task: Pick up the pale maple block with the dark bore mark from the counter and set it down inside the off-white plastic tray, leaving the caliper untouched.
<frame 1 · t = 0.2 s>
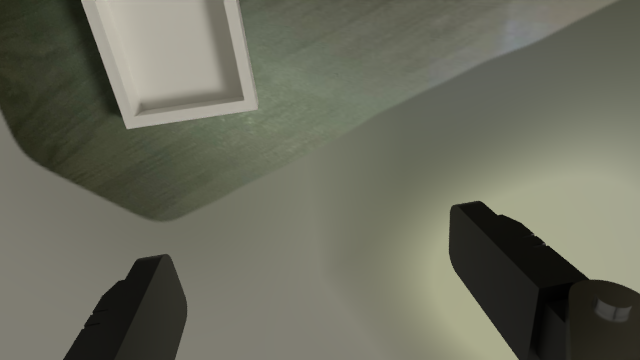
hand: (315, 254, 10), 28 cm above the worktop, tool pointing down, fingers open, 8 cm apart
tray: (179, 37, 33), on the worktop
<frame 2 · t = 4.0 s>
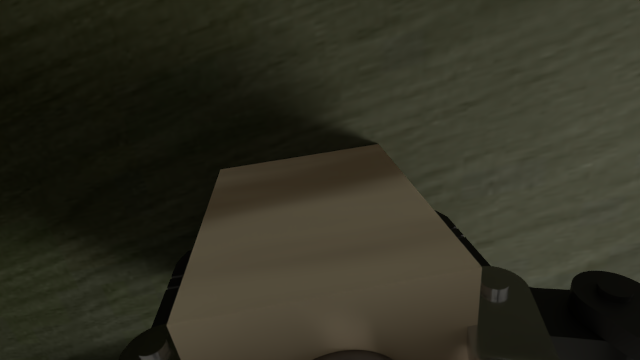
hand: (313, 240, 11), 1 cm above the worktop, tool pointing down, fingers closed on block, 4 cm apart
block: (311, 224, 12), on the worktop, touching gripper
when the fingers open (3 cm above the worktop, at t = 8.6 s): block drops 1 cm, resting on tray.
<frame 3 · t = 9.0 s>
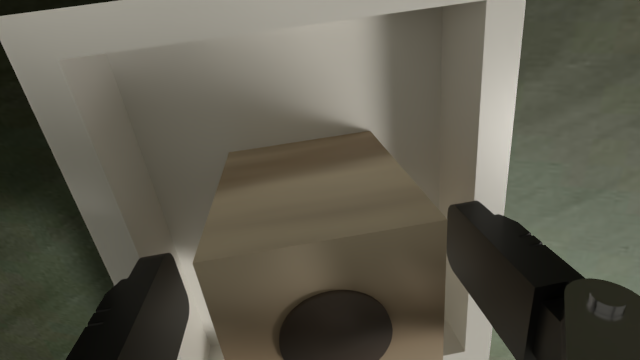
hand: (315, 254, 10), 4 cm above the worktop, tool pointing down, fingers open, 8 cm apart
block: (309, 203, 13), resting on tray
tray: (305, 198, 14), on the worktop
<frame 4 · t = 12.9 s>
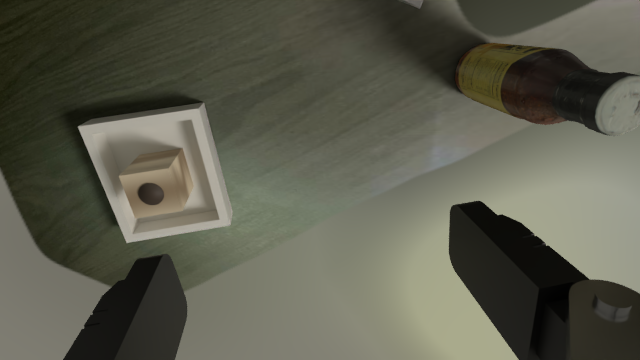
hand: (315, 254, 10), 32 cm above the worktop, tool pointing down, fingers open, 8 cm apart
block: (167, 171, 41), resting on tray
sauce bottle: (475, 70, 42), on the worktop
tray: (167, 169, 42), on the worktop
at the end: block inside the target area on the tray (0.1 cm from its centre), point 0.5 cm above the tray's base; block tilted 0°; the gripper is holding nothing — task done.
